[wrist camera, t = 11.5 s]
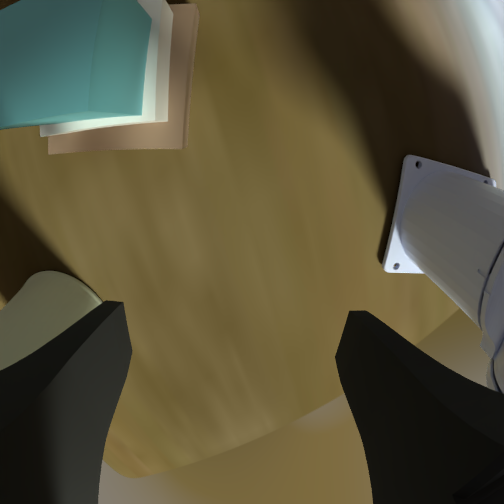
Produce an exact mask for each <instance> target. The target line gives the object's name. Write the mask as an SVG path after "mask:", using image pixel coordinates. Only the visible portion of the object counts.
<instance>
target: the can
mask: <svg viewBox="0 0 504 504" xmlns="http://www.w3.org/2000/svg"><path fill="white" fill-rule="evenodd" d="M101 303H103V302H102V301H101V299H100V298H99V297H98V296H97V295H96V294H95V293H94V292H93V291H92V290H91V289H90V288H89V287H87V286H86V285H85V284H83V283H82V282H81V281H79V280H77V279H75V278H74V277H72V276H69V275H67V274H65V273H61V272H57V271H42V272H38V273H36V274H34V275H32V276H31V277H30V278H29V279H28V280H27V281H26V282H25V284H24V286H23V287H22V288H21V289H20V291H19V292H18V293H17V294H16V295H15V296H14V297H13V298H12V299H11V300H10V301H9V302H8V303H7V304H6V306H5V307H4V308H3V309H2V310H1V311H0V370H2V369H4V368H6V367H8V366H10V365H12V364H14V363H16V362H17V361H19V360H21V359H23V358H25V357H26V356H28V355H29V354H31V353H33V352H34V351H36V350H37V349H39V348H40V347H42V346H43V345H45V344H46V343H47V342H49V341H50V340H52V339H53V338H55V337H56V336H58V335H59V334H61V333H62V332H63V331H65V330H66V329H67V328H69V327H70V326H71V325H73V324H74V323H75V322H77V321H78V320H79V319H81V318H82V317H83V316H85V315H86V314H87V313H89V312H90V311H91V310H93V309H94V308H96V307H97V306H98V305H100V304H101Z"/></svg>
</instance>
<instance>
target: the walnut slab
mask: <svg viewBox="0 0 504 504" xmlns="http://www.w3.org/2000/svg"><path fill="white" fill-rule="evenodd" d="M169 7H170V9H171V10H172V12H173V23H172V35H171V49H170V66H169V91H168V122H153V123H141V124H130V125H121V126H112V127H104V128H97V129H90V130H84V131H78V132H72V133H66V134H58V135H51V136H48V155H49V154H59V153H70V152H84V151H100V150H123V149H183V148H186V147H188V130H189V115H190V101H191V89H192V78H193V68H194V58H195V49H196V40H197V32H198V25H199V17H200V14H199V11H198V8H197V5H196V3H195V4H171V5H169Z"/></svg>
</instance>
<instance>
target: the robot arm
mask: <svg viewBox="0 0 504 504" xmlns="http://www.w3.org/2000/svg"><path fill="white" fill-rule="evenodd" d="M417 161H418V162H419V165H418V167H417V168H416V162H417ZM395 263H397V265H396V266H395V267H393V266H394V264H395ZM382 267H383V269H384V270H385V271H386V272H391V273H425V274H426V275H427V276H428V277H429V278H430V279H431V280H432V281H433V282H434V283H435V284H436V285H437V286H438V287H439V288H441V289H442V290H443V291H444V292H445V293H446V294H447V295H448V296H449V297H450V298H451V299H452V300H453V301H454V302H455V303H456V304H457V305H458V306H459V307H460V308H461V309H462V310H463V311H464V312H465V313H466V314H467V315H468V316H469V317H470V318H471V319H472V320H473V321H474V323H476V325H477V326H478V327H479V328H480V329H481V330H482V331H483V338H482V341H481V344H480V346H481V348H482V349H483V350H484V351H485V352H486V354H487V355H488V356H489V357H490V358H491V359H490V361H489V364H488V367H487V374H486V379H487V386H488V388H487V387H484V386H482V385H480V384H478V383H475V382H473V381H471V380H469V379H467V378H465V377H463V376H461V375H460V374H458V373H456V372H454V371H452V370H451V369H449V368H447V367H445V366H444V365H442V364H441V363H439V362H437V361H436V360H434V359H433V358H432V357H430V356H429V355H427V354H426V353H424V352H423V351H421V350H420V349H418V348H417V347H416V346H414V345H413V344H411V343H410V342H409V341H407V340H406V339H405V338H403V337H402V336H401V335H399V334H398V333H397V332H395V331H394V330H393V329H391V328H390V327H389V326H387V325H386V324H385V323H383V322H382V321H381V320H379V319H378V318H376V317H375V316H374V315H372V314H371V313H369V312H367V311H349V314H348V317H347V321H346V324H345V327H344V331H343V334H342V337H341V340H340V343H339V346H338V349H337V353H336V356H335V359H336V364H337V369H338V373H339V377H340V382H341V385H342V387H343V390H344V393H345V395H346V398H347V401H348V403H349V406H350V409H351V411H352V413H353V416H354V419H355V422H356V425H357V427H358V430H359V433H360V436H361V439H362V442H363V446H364V450H365V454H366V460H367V464H368V470H369V475H370V481H371V488H372V496H373V504H504V191H503V190H501V189H498V188H496V181H495V180H494V179H491V178H489V177H486V176H483V175H480V174H477V173H474V172H471V171H468V170H464V169H461V168H458V167H455V166H451V165H448V164H444V163H441V162H437V161H433V160H430V159H426V158H422V157H418V156H414V155H407V156H406V157H405V158H404V161H403V167H402V174H401V180H400V186H399V191H398V197H397V202H396V207H395V212H394V217H393V221H392V226H391V230H390V235H389V239H388V243H387V247H386V251H385V255H384V259H383V263H382ZM131 355H132V347H131V342H130V337H129V332H128V327H127V321H126V316H125V310H124V304H123V302H117V301H107V300H106V301H104V302H103V303H101V304H100V305H98V306H97V307H96V308H94V309H93V310H91V311H90V312H89V313H87V314H86V315H85V316H83V317H82V318H81V319H79V320H78V321H77V322H75V323H74V324H73V325H71V326H70V327H69V328H67V329H66V330H65V331H63V332H62V333H61V334H59V335H58V336H56V337H55V338H53V339H52V340H50V341H49V342H47V343H46V344H45V345H43V346H42V347H40V348H39V349H37V350H36V351H34V352H33V353H31V354H29V355H28V356H26V357H25V358H23V359H21V360H19V361H17V362H16V363H14V364H12V365H10V366H8V367H6V368H4V369H2V370H0V504H98V493H99V481H100V472H101V464H102V458H103V452H104V446H105V441H106V437H107V434H108V430H109V427H110V424H111V421H112V418H113V415H114V412H115V409H116V406H117V403H118V400H119V397H120V395H121V392H122V389H123V386H124V383H125V380H126V377H127V373H128V369H129V364H130V360H131Z"/></svg>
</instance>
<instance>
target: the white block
mask: <svg viewBox="0 0 504 504" xmlns="http://www.w3.org/2000/svg"><path fill="white" fill-rule="evenodd" d="M137 1H138V3H139V4H140V5H141V6H142V7H143V9H144V10H145V11H146V12H147V14H148V15H149V16H150V17H151V18H152V23H151V29H150V36H149V44H148V51H147V60H146V69H145V80H144V91H143V105H142V116H124V117H111V118H99V119H90V120H81V121H73V122H66V123H59V124H50V125H40V137H44V136H51V135H58V134H66V133H72V132H78V131H84V130H90V129H97V128H104V127H112V126H121V125H130V124H141V123H153V122H168V91H169V66H170V49H171V35H172V23H173V12H172V10H171V9H170V7H169V5H168V3H167V2H166V0H137Z"/></svg>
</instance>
